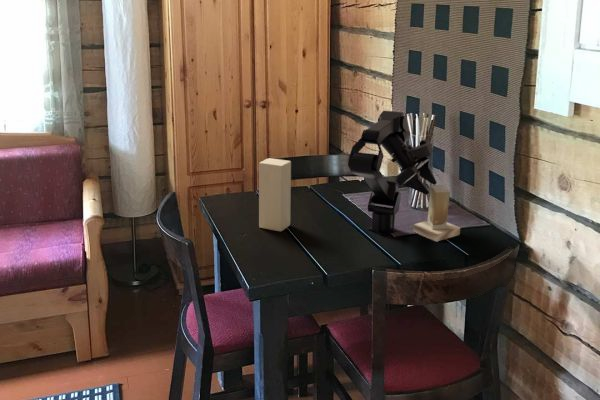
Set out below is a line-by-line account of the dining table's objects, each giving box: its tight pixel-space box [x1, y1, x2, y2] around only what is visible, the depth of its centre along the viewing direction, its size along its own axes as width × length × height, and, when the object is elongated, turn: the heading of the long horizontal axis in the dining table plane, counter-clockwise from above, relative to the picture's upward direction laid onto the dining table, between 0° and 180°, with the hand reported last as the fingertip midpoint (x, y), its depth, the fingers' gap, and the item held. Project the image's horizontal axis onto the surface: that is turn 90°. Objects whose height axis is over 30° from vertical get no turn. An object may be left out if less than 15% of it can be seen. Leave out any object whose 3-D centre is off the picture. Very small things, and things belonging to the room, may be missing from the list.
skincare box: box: [426, 184, 451, 230], centre depth 207 cm, size 6×4×12 cm
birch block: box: [412, 220, 461, 242], centre depth 210 cm, size 10×10×3 cm
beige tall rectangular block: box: [258, 157, 292, 232], centre depth 212 cm, size 8×7×21 cm
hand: (431, 188), depth 208 cm, fingers open, 9 cm apart
